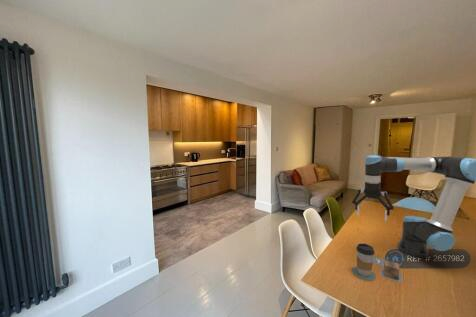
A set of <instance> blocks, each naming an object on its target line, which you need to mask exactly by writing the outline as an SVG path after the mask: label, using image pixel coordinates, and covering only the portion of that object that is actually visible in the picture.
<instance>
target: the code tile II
mask: <svg viewBox="0 0 476 317" xmlns="http://www.w3.org/2000/svg"><path fill="white" fill-rule="evenodd" d="M379 276H381V277H383V278H386V279H388V280H391V281H392V282H396V283H399V284H401V283H402V280H403V274H401V273H399V280H396V279H393V278H389V277H386V276H384V267H382V268H381V270H380V272H379Z"/></svg>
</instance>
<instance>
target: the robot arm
mask: <svg viewBox="0 0 476 317" xmlns="http://www.w3.org/2000/svg"><path fill="white" fill-rule="evenodd" d="M364 166H365V169H364V189H362V188H359V189H358V190H357V194H356V195H355V197H354V199H353V200H352V202H351V204H354V205H355V207H354V208H355V210H356V211H357V212H356V215H357V216H356V217H360V210H361V209H360V208H361V207H360V206H361V204H360V203H362V201H364V200H365V199H366V198H369V199H377V200H378V202H379V203H381V205H382V206H383V207H384V208H385V211H384V222H387V221H388V217H389V216H390V214H391V213H390V212H391V210H392V211H393V210H394V209H395V207H394V204H393V203H392V201H391V200H390V199H391V198H390V197H389V196H388V192H387V191H381V177H382V173H384V172H385V173H387V172H388V173H389V172H391V173H393V172H394V173H396V172H402V171H404V170H406V171H407V170H408V171H424V172H426V173H433V174H438V175H442V176H444V179H445V180H446V182H445V185H444V187H443V189H442V192H441V194H440V196H439V199H438V201H437V203H436V206H435V208H434V210H433V212H432V215H431V217H430V218H429V219H428V218H426V217H422V216H416V215H405V216H404V217H403V220H402V233H401V237H400V240H399V242H398V244H397V248H398V250H399V251H401V252H402V253H404V254H406V255H409V256H410V257H411V256H412V257H416V258H428V256H429V249H428V247H430V248H432V249H433V250H435V251H439V252H445V251H448V250H451V249H452V248H453V247H455V244H456V238H455V236H454V235H453V232H454V229H453V228H452V225H453V223H454V221H455V217H456V216H457V214H458V210H459V209H460V206H461V204H462V203H463V200H464V197H465V195H466V193H467V190H468V188H469V187H471V186H474V185H475V184H476V158H472V157H460V156H427V157H425V158H422V157H421V158H420V157H402V156H401V157H398V156H381V155H373V154H371V155H366V157H365V162H364ZM362 193H364V195H363V196H362V197H361V198H359V197H360V195H361V194H362ZM381 195H382V196H383V197H384V199H385V201H384V200H383V198H382V197H381ZM358 198H359V199H358Z"/></svg>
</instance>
